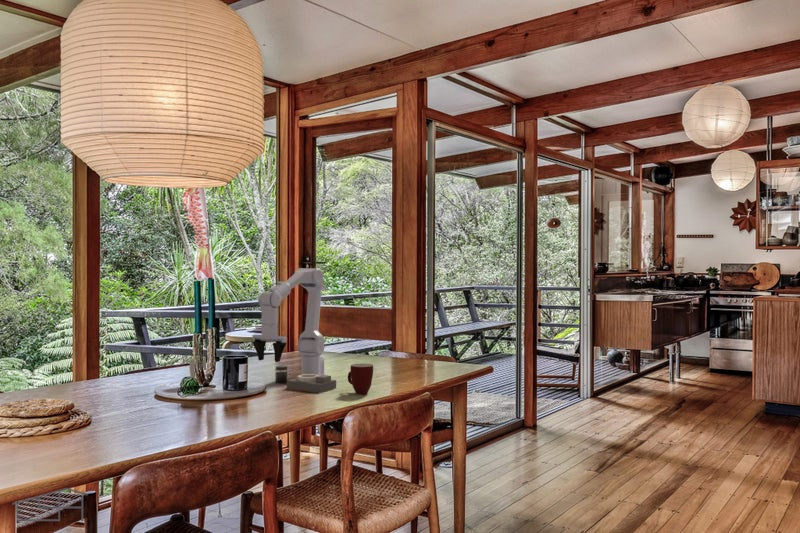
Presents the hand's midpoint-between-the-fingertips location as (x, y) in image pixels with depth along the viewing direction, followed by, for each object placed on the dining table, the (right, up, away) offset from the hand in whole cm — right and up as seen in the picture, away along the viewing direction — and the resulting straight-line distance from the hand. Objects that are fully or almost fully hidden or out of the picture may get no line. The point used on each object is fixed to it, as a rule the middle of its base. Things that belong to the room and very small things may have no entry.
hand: (269, 360), depth 232 cm
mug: (+34, -10, -8) cm, 36 cm away
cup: (-26, -10, +1) cm, 28 cm away
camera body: (+16, -10, -1) cm, 19 cm away
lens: (+3, -10, +10) cm, 14 cm away
